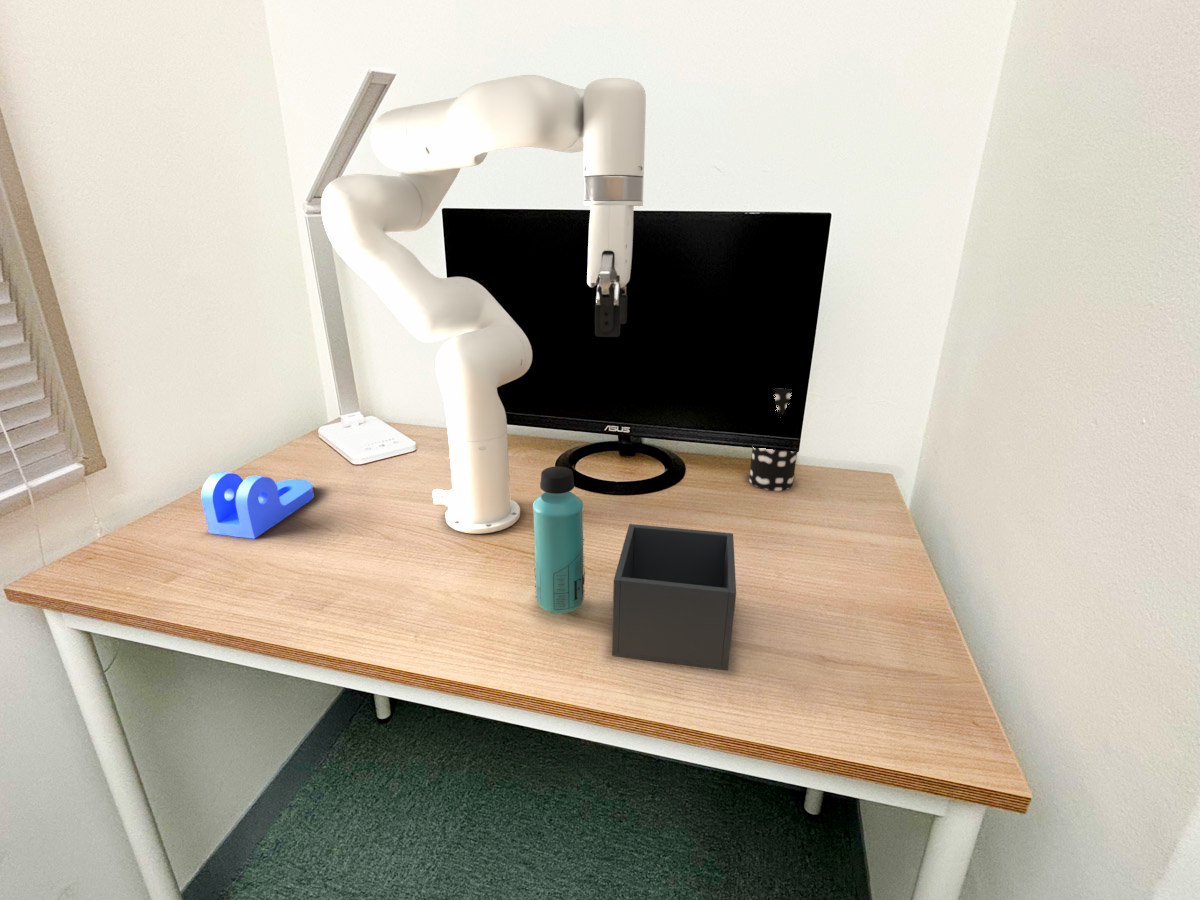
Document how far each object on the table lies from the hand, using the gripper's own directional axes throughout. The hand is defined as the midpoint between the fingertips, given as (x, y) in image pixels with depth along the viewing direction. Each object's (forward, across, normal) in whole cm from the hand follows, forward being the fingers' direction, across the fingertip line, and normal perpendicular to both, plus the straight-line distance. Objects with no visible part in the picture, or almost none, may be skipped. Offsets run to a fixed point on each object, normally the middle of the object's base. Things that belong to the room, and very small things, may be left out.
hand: (611, 329), depth 84 cm
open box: (+34, +18, +10) cm, 40 cm away
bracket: (+34, -4, -60) cm, 69 cm away
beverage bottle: (+34, +16, -5) cm, 38 cm away
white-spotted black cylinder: (+35, -30, +28) cm, 54 cm away
